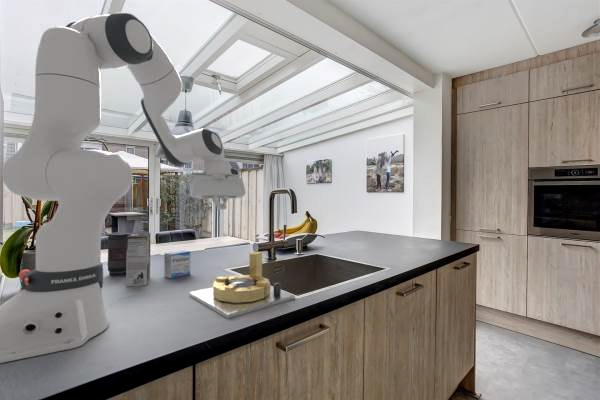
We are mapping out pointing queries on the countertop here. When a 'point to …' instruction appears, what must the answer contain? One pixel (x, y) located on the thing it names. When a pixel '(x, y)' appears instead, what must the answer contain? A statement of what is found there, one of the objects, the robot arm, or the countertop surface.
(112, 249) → the camera lens
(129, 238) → the coffee box
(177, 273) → the medicine box
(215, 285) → the lens holder
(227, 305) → the base plate
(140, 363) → the countertop surface
